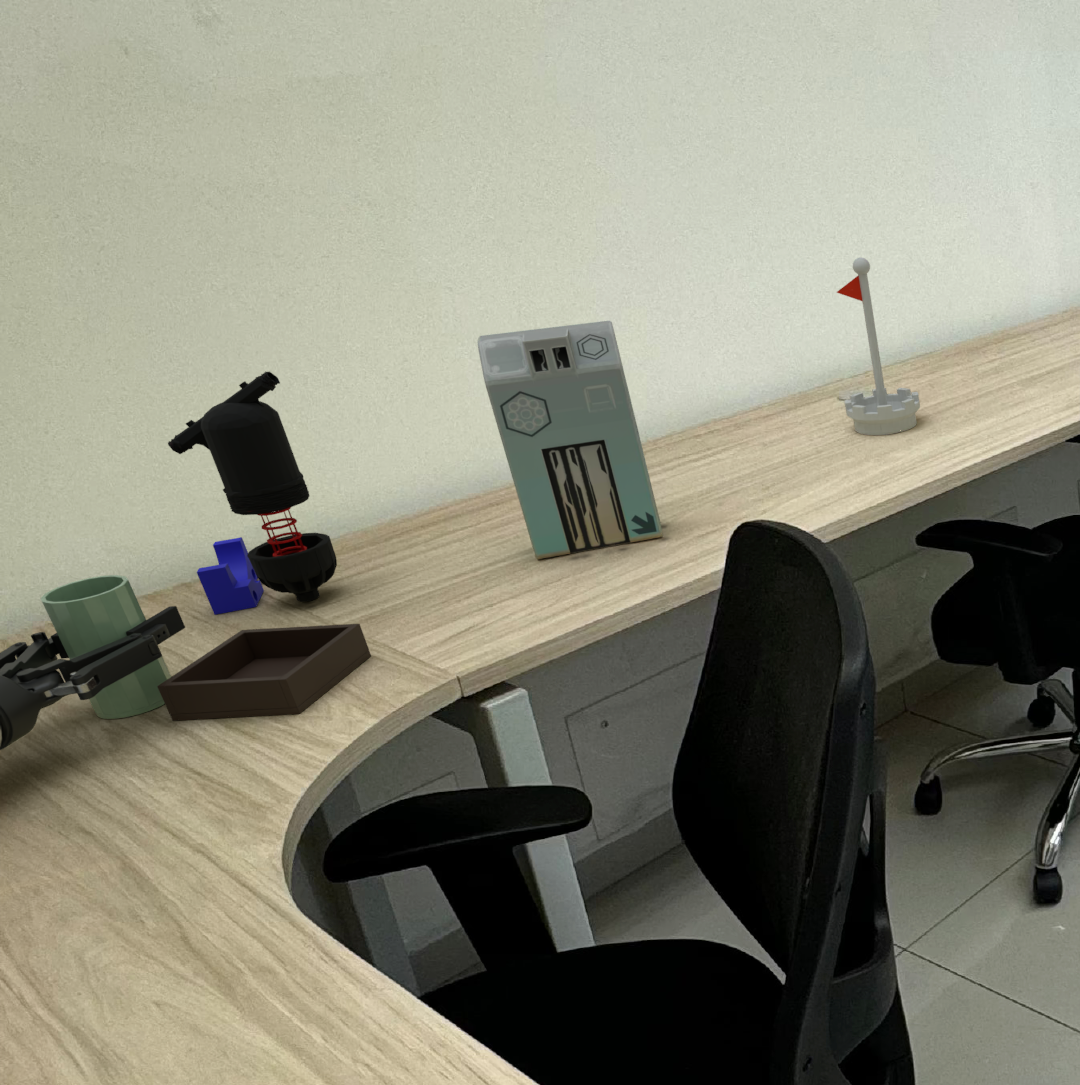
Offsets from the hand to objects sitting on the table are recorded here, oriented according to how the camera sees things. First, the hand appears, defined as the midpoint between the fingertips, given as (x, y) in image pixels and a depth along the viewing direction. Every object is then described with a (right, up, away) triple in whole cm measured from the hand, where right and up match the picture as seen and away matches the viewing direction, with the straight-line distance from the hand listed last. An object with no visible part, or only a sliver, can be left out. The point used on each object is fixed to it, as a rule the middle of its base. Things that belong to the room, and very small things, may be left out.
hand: (141, 619), depth 139 cm
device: (+33, +10, +39) cm, 52 cm away
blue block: (-9, +3, +26) cm, 28 cm away
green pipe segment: (+1, -9, -1) cm, 9 cm away
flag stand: (+61, +33, +86) cm, 111 cm away
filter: (0, +2, +24) cm, 24 cm away
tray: (+14, -8, +1) cm, 16 cm away
